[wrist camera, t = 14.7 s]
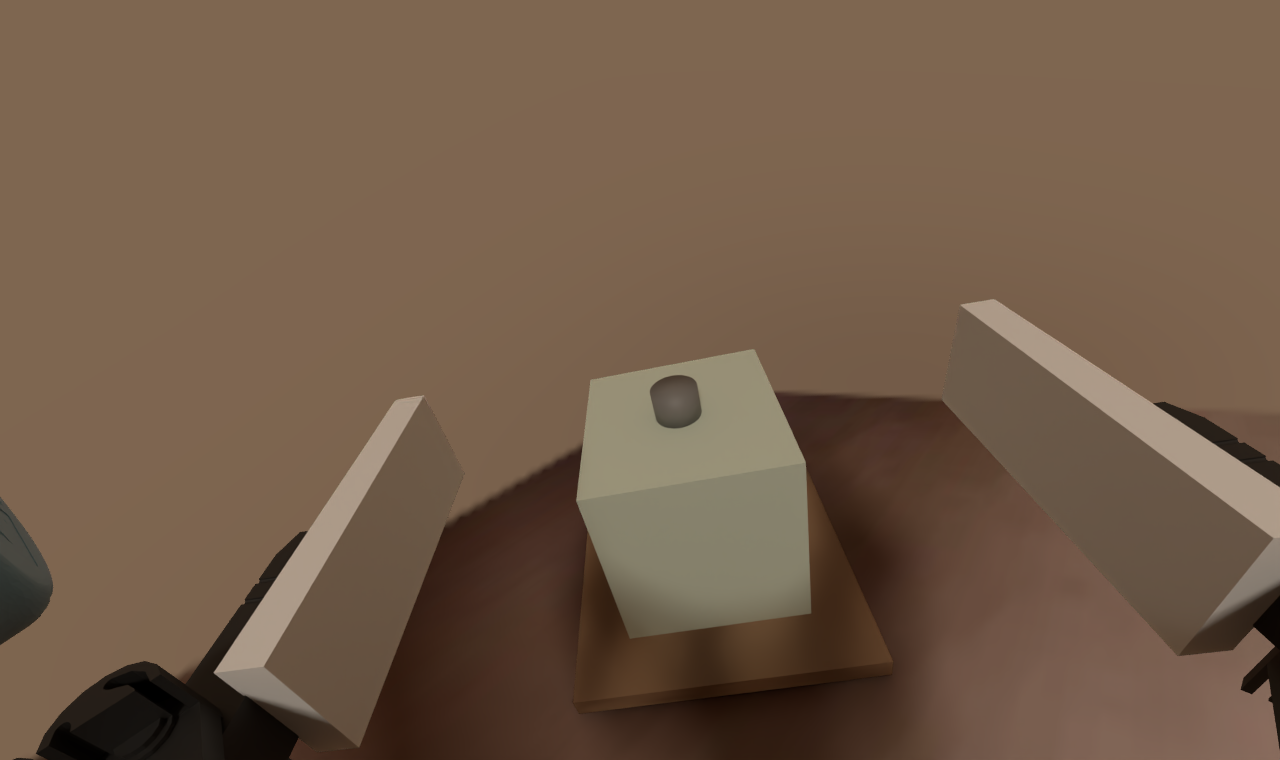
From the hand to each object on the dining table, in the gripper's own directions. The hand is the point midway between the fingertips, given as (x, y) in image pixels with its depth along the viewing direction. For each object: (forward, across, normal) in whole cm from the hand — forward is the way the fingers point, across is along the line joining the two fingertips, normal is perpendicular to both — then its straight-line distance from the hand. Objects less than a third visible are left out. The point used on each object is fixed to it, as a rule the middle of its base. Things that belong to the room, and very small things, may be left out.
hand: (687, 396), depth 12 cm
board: (+10, 0, -20) cm, 23 cm away
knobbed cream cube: (+10, 0, -19) cm, 22 cm away
